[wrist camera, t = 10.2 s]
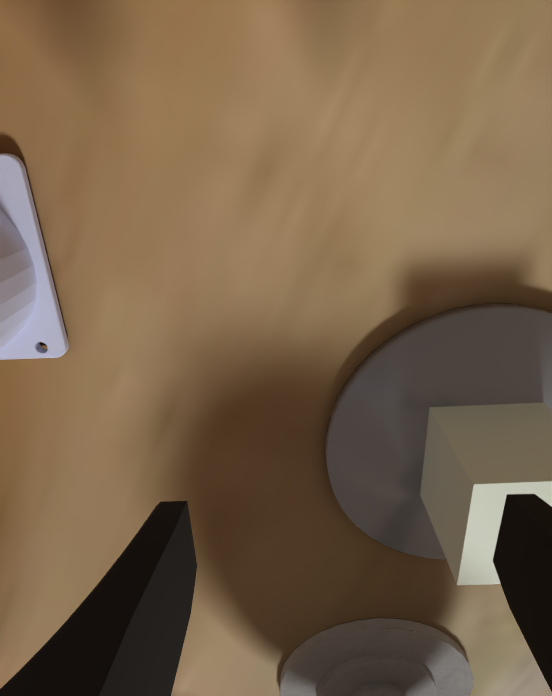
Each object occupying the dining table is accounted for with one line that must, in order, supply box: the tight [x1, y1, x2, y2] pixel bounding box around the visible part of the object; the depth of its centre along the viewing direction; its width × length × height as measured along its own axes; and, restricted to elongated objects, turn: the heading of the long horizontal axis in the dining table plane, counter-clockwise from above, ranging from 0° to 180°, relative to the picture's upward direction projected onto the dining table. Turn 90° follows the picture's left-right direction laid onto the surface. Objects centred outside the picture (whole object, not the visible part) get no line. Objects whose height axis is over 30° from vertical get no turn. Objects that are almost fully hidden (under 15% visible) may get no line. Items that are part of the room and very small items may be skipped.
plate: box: [325, 303, 552, 560], centre depth 22 cm, size 14×14×1 cm
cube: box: [420, 402, 552, 585], centre depth 19 cm, size 5×5×5 cm
